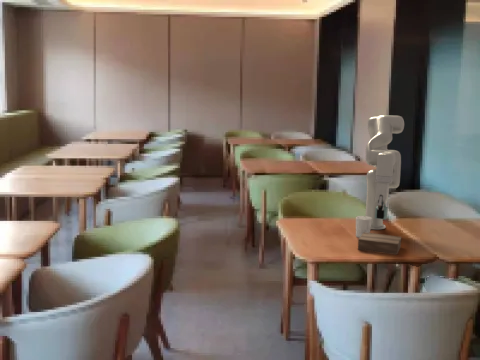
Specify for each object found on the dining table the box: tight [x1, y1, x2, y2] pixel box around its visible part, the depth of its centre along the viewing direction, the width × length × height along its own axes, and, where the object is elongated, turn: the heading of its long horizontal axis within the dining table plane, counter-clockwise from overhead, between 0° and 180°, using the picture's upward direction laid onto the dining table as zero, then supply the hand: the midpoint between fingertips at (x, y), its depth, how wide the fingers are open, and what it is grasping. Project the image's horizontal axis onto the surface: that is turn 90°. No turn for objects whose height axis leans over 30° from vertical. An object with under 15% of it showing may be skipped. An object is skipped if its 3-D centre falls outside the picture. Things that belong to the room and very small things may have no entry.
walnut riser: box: [357, 232, 402, 256], centre depth 274 cm, size 14×18×5 cm
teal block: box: [375, 206, 389, 221], centre depth 272 cm, size 5×5×5 cm
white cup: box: [355, 215, 372, 239], centre depth 293 cm, size 8×8×10 cm
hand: (381, 216), depth 272 cm, fingers closed on teal block, 4 cm apart
